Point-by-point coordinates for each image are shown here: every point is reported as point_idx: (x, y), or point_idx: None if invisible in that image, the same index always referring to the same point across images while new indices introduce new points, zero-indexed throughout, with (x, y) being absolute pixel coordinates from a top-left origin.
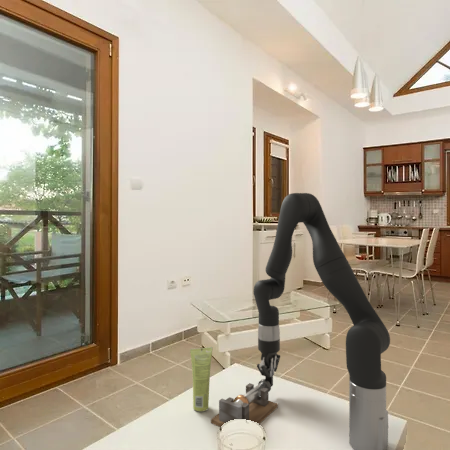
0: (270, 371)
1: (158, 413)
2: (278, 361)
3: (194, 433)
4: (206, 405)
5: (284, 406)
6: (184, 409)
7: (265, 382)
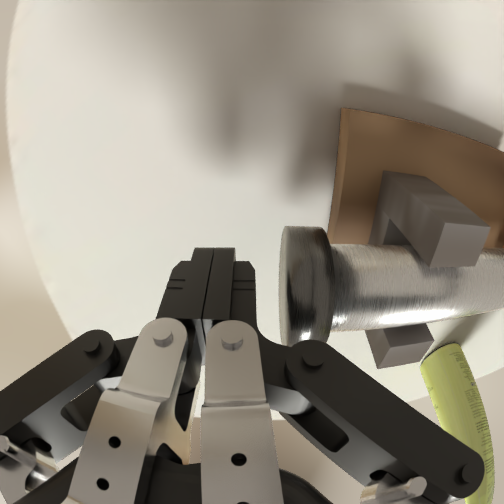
0: (248, 394)
1: None
2: (5, 399)
3: None
4: (458, 354)
5: (300, 68)
6: None
7: (332, 307)
